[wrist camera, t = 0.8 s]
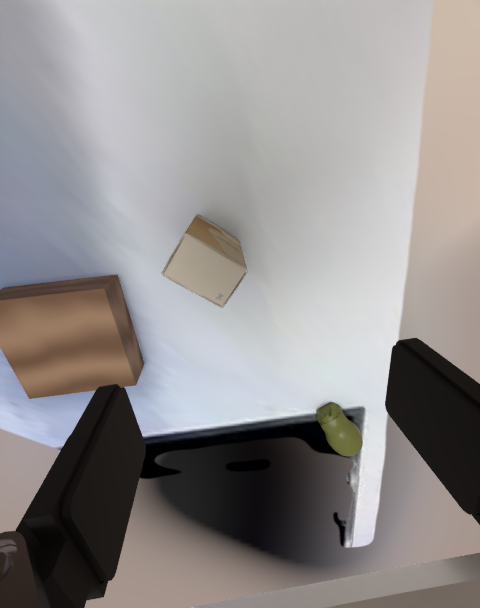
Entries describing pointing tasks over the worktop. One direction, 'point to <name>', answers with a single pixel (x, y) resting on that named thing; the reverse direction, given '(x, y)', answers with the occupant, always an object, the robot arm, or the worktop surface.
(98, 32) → the worktop surface
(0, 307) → the walnut block
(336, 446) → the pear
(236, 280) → the skincare box
